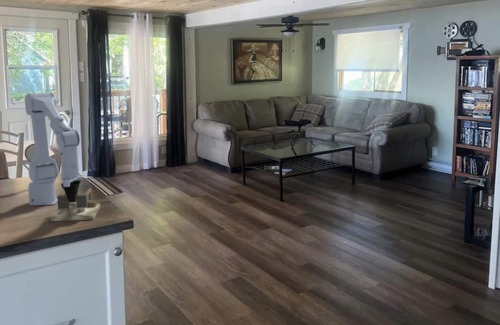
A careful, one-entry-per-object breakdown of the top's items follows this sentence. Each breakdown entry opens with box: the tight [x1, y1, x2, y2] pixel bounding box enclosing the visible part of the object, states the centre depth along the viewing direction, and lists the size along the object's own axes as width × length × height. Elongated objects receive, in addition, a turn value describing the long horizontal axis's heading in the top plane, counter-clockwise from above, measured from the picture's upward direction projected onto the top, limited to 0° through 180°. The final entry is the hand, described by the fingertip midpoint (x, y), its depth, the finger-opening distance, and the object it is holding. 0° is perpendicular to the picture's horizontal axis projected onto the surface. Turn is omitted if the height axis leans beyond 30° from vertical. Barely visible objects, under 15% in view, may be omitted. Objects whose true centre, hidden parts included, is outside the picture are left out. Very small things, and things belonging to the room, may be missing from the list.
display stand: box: [49, 195, 101, 222], centre depth 177 cm, size 15×15×6 cm
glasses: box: [56, 188, 93, 209], centre depth 177 cm, size 10×11×4 cm
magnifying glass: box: [24, 143, 36, 163], centre depth 213 cm, size 9×2×20 cm, turn 126°
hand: (72, 201), depth 172 cm, fingers closed on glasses, 2 cm apart
